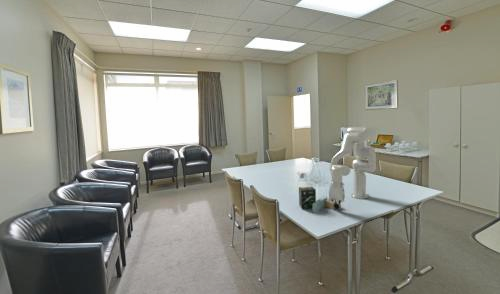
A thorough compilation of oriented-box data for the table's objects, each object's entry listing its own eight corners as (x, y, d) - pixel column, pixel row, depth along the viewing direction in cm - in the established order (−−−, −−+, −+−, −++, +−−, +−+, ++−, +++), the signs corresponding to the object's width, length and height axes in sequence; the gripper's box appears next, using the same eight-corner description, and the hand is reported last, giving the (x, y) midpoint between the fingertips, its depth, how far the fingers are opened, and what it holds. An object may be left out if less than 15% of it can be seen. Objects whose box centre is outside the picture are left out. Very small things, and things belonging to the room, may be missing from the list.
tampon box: (312, 204, 189) (312, 186, 188) (316, 208, 180) (316, 189, 179) (298, 204, 189) (298, 186, 187) (301, 209, 180) (301, 190, 178)
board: (323, 203, 190) (323, 196, 189) (327, 204, 188) (327, 196, 187) (312, 211, 175) (312, 203, 174) (316, 212, 173) (316, 204, 172)
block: (332, 204, 187) (331, 198, 187) (340, 208, 179) (340, 201, 179) (324, 206, 185) (324, 200, 184) (333, 210, 176) (333, 203, 176)
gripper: (349, 184, 170) (348, 209, 172) (328, 181, 180) (328, 205, 182) (345, 186, 164) (345, 212, 167) (324, 183, 174) (324, 208, 176)
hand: (336, 208), depth 174 cm, fingers closed
